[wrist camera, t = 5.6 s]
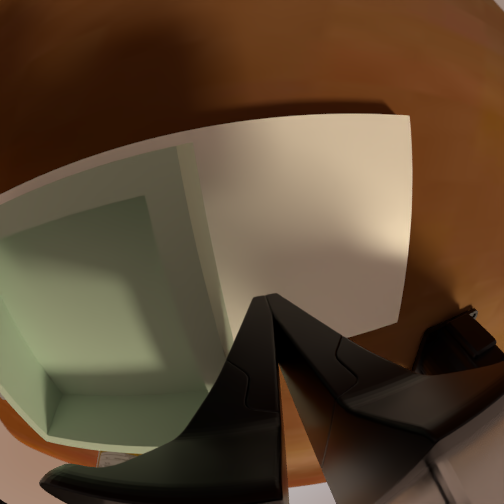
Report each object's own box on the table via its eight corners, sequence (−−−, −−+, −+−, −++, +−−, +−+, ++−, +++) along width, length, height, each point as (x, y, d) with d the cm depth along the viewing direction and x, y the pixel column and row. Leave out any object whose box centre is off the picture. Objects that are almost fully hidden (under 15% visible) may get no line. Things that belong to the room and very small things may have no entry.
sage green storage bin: (240, 358, 14) (253, 447, 9) (72, 372, 14) (46, 441, 9) (196, 141, 10) (175, 146, 5) (-5, 207, 9) (-78, 250, 4)
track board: (389, 313, 16) (421, 352, 13) (18, 363, 15) (-1, 398, 11) (397, 115, 11) (452, 117, 8) (-49, 223, 10) (-84, 246, 6)
